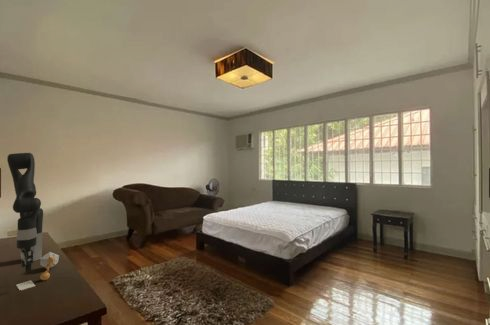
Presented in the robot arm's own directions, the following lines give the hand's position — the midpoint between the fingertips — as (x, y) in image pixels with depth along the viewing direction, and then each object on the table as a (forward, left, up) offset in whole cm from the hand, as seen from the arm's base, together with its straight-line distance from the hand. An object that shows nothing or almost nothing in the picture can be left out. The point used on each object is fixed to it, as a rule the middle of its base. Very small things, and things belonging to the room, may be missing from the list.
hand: (26, 268), depth 121 cm
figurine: (0, +9, -9) cm, 12 cm away
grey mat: (0, 0, -8) cm, 8 cm away
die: (-16, +13, -9) cm, 22 cm away
